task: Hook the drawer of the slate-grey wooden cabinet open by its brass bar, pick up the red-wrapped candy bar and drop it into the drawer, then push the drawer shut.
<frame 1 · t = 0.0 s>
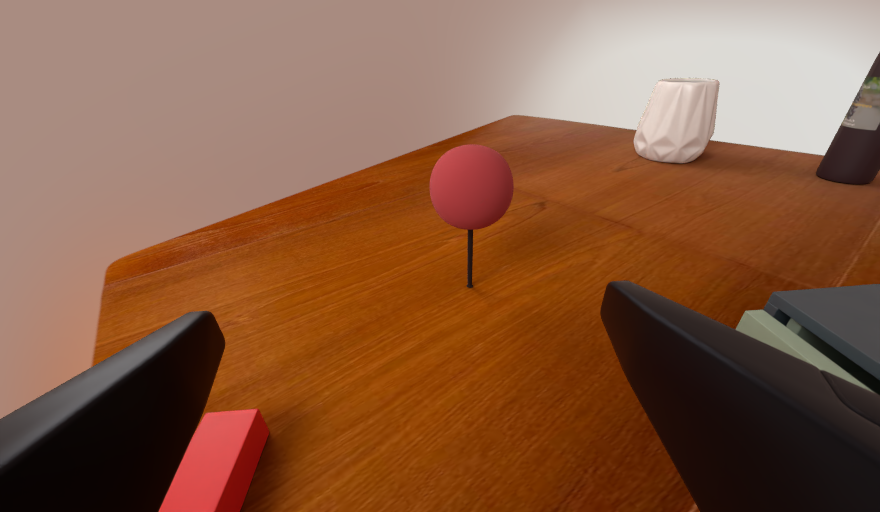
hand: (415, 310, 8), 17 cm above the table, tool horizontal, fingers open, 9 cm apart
lollipop: (469, 286, 38), on the table
vase: (665, 157, 77), on the table
drawer: (862, 407, 20), point 4 cm above the table, slide at 0.8 cm
candy bar: (221, 488, 21), on the table
wine bottle: (841, 179, 62), on the table
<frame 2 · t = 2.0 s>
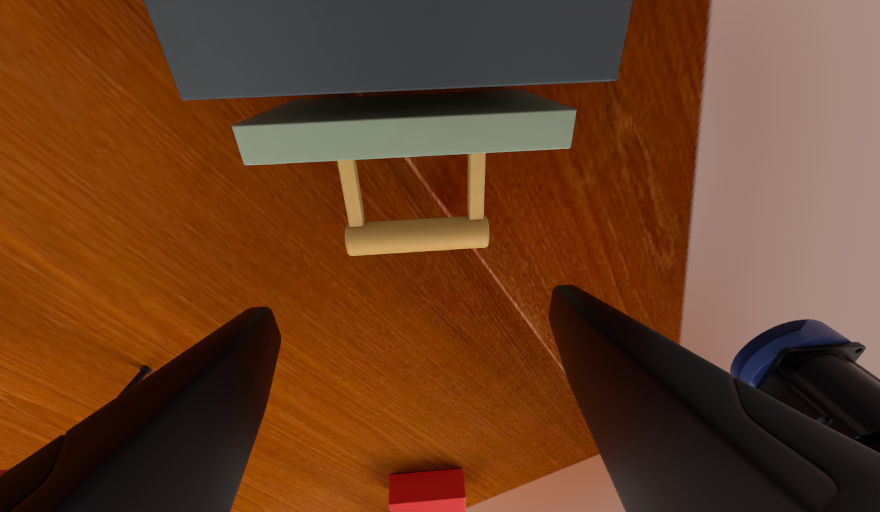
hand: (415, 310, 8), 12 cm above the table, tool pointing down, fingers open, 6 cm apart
drawer: (402, 16, 12), point 4 cm above the table, slide at 0.8 cm
candy bar: (427, 480, 34), on the table
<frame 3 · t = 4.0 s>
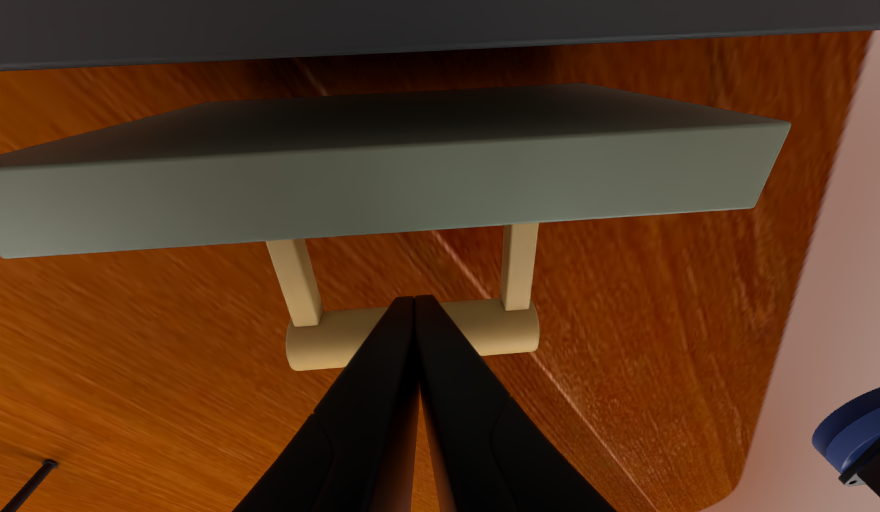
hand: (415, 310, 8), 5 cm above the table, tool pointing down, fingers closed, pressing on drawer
lollipop: (50, 459, 18), on the table
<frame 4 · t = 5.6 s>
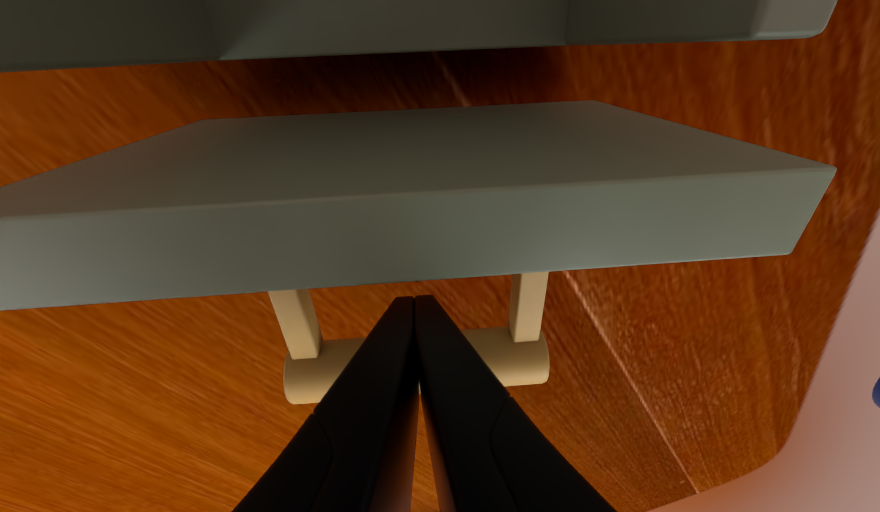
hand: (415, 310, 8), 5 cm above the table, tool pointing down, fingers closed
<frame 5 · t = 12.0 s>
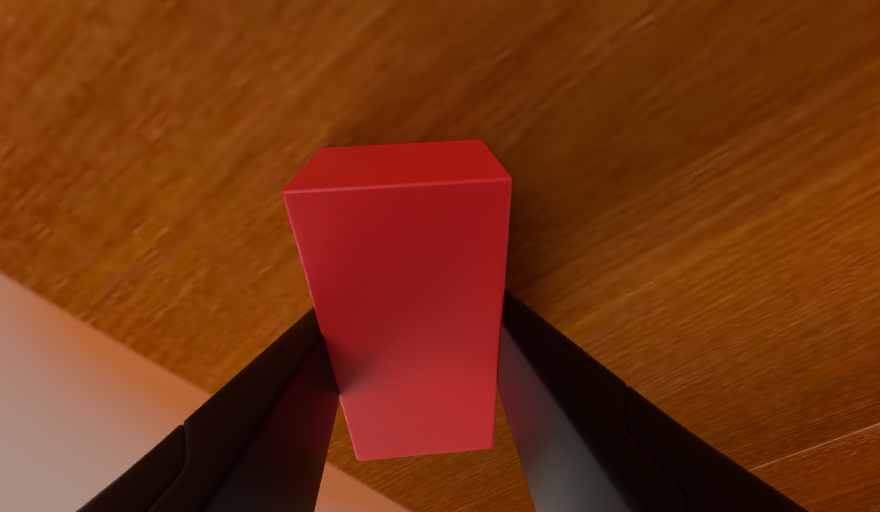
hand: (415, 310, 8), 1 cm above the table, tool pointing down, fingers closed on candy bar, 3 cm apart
candy bar: (414, 280, 9), on the table, touching gripper
when the fingers open (6 cm above the table, at t = 18.0 s): candy bar drops 3 cm, resting on drawer.
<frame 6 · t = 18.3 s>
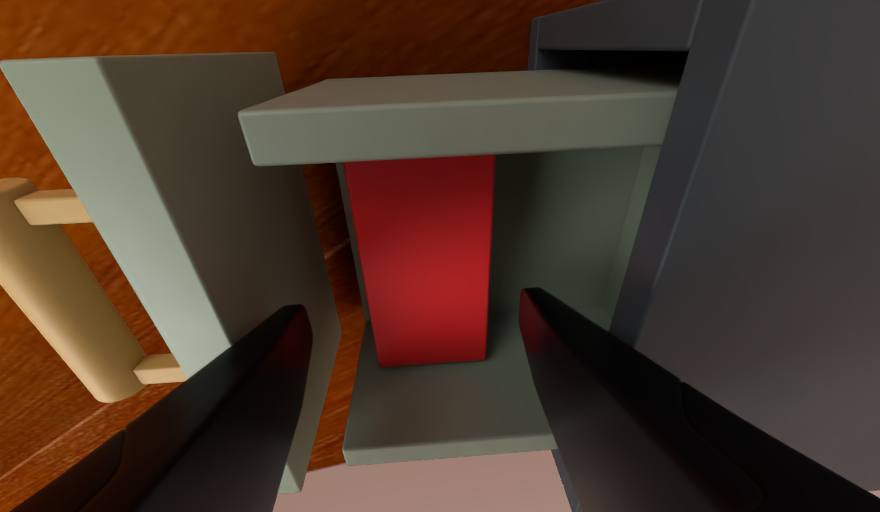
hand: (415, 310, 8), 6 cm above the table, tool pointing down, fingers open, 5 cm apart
drawer: (387, 265, 10), point 4 cm above the table, slide at 7.3 cm, touching candy bar
candy bar: (424, 228, 11), point 2 cm above the table, touching drawer
cabinet: (688, 192, 14), on the table
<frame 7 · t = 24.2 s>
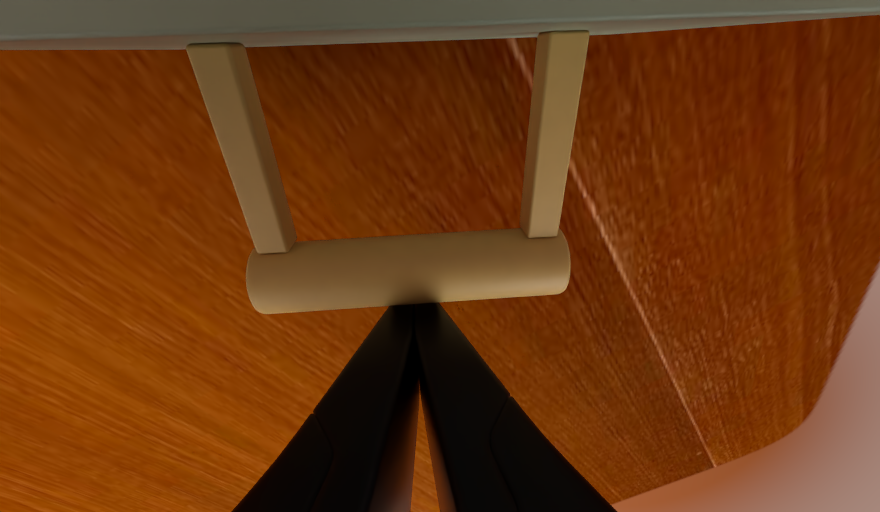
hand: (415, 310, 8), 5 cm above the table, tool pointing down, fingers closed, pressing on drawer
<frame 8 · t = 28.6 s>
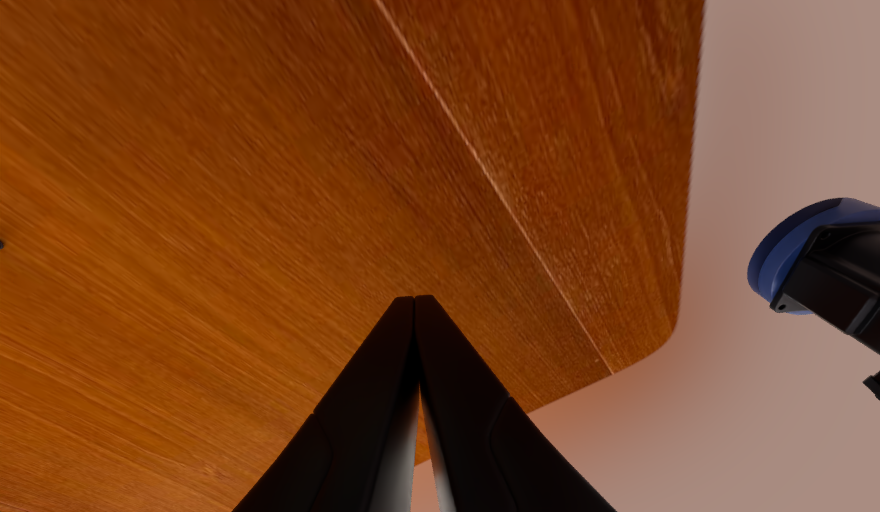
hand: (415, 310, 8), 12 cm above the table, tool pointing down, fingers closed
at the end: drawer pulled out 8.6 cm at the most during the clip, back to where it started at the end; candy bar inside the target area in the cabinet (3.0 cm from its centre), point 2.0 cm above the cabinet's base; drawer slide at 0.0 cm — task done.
